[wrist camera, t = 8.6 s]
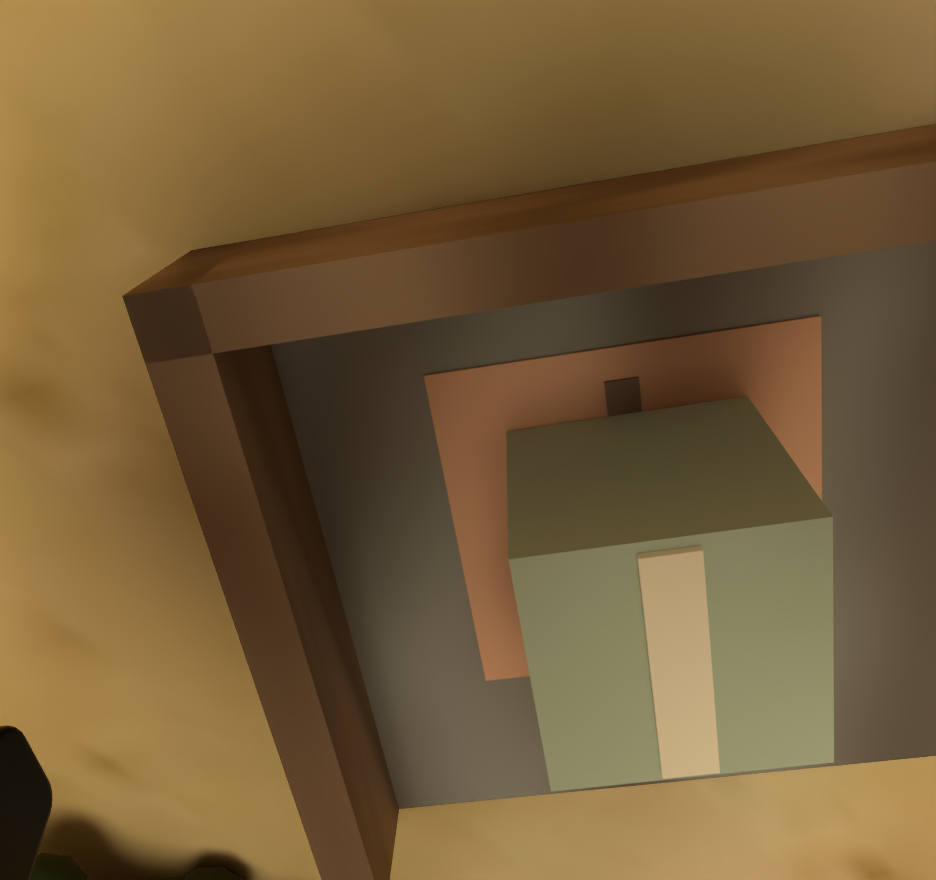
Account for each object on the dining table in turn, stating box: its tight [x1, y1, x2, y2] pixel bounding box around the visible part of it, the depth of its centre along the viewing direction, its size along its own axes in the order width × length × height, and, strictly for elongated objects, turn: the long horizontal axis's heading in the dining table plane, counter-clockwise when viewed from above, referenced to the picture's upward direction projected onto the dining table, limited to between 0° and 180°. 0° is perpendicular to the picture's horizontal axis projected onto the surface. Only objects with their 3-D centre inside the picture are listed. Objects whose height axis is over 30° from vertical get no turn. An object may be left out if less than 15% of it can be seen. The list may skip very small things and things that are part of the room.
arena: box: [122, 124, 936, 880], centre depth 18 cm, size 15×15×4 cm
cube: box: [506, 396, 834, 792], centre depth 17 cm, size 5×5×5 cm
